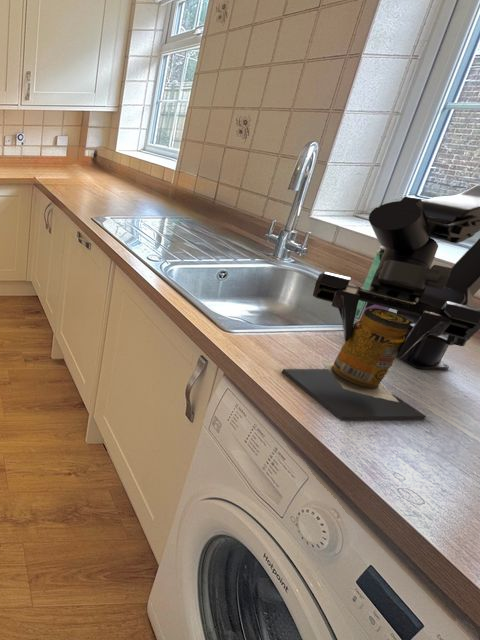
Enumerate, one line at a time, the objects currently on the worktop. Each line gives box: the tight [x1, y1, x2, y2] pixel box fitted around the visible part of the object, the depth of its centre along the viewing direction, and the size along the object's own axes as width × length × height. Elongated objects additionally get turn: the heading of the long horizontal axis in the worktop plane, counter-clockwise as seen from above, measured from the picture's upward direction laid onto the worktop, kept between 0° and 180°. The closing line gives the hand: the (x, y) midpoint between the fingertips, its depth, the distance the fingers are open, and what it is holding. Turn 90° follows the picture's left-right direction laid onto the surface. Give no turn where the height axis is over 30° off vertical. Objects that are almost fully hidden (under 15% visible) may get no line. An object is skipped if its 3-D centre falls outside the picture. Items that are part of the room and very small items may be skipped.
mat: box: [281, 368, 427, 422], centre depth 69 cm, size 14×12×1 cm
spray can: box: [354, 245, 390, 323], centre depth 91 cm, size 6×6×20 cm
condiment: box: [319, 308, 410, 402], centre depth 65 cm, size 7×8×12 cm
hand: (371, 348), depth 64 cm, fingers closed on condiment, 6 cm apart
